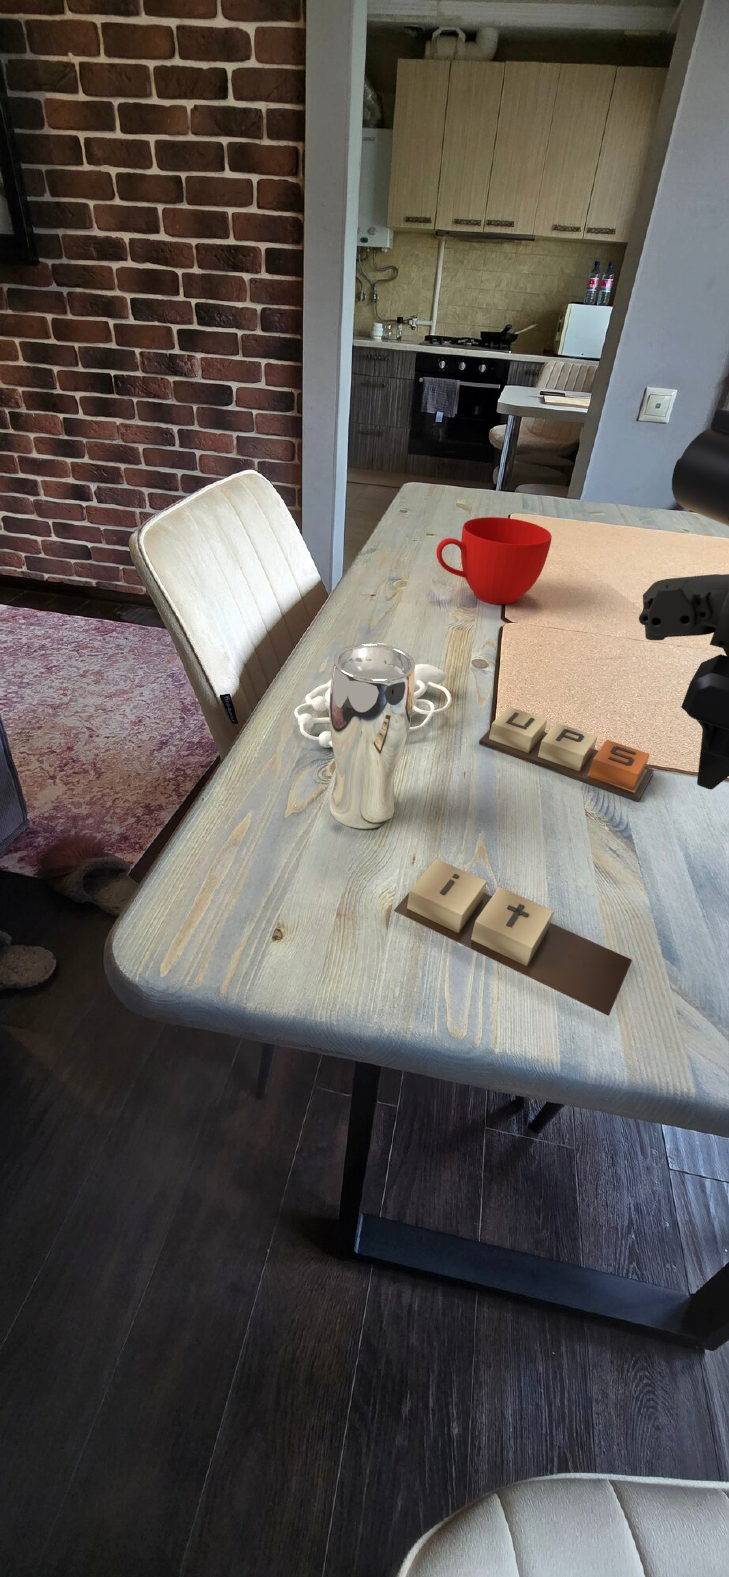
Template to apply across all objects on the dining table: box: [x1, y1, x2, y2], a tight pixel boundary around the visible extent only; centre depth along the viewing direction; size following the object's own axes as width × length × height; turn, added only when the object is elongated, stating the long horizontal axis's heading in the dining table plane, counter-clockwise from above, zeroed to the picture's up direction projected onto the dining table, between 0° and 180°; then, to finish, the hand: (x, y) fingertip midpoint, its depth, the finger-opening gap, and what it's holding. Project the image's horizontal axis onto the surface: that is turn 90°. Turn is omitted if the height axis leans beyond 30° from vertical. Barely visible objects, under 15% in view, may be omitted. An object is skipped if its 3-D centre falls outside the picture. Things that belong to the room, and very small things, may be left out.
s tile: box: [589, 739, 651, 790], centre depth 74 cm, size 4×4×2 cm
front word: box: [393, 858, 633, 1017], centre depth 55 cm, size 17×6×3 cm, turn 58°
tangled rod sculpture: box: [293, 642, 453, 749], centre depth 81 cm, size 19×14×4 cm
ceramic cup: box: [435, 516, 553, 605], centre depth 109 cm, size 13×17×10 cm
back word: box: [478, 706, 655, 803], centre depth 76 cm, size 17×6×3 cm, turn 58°
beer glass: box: [328, 642, 416, 830], centre depth 63 cm, size 7×7×15 cm
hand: (716, 758), depth 56 cm, fingers open, 9 cm apart
